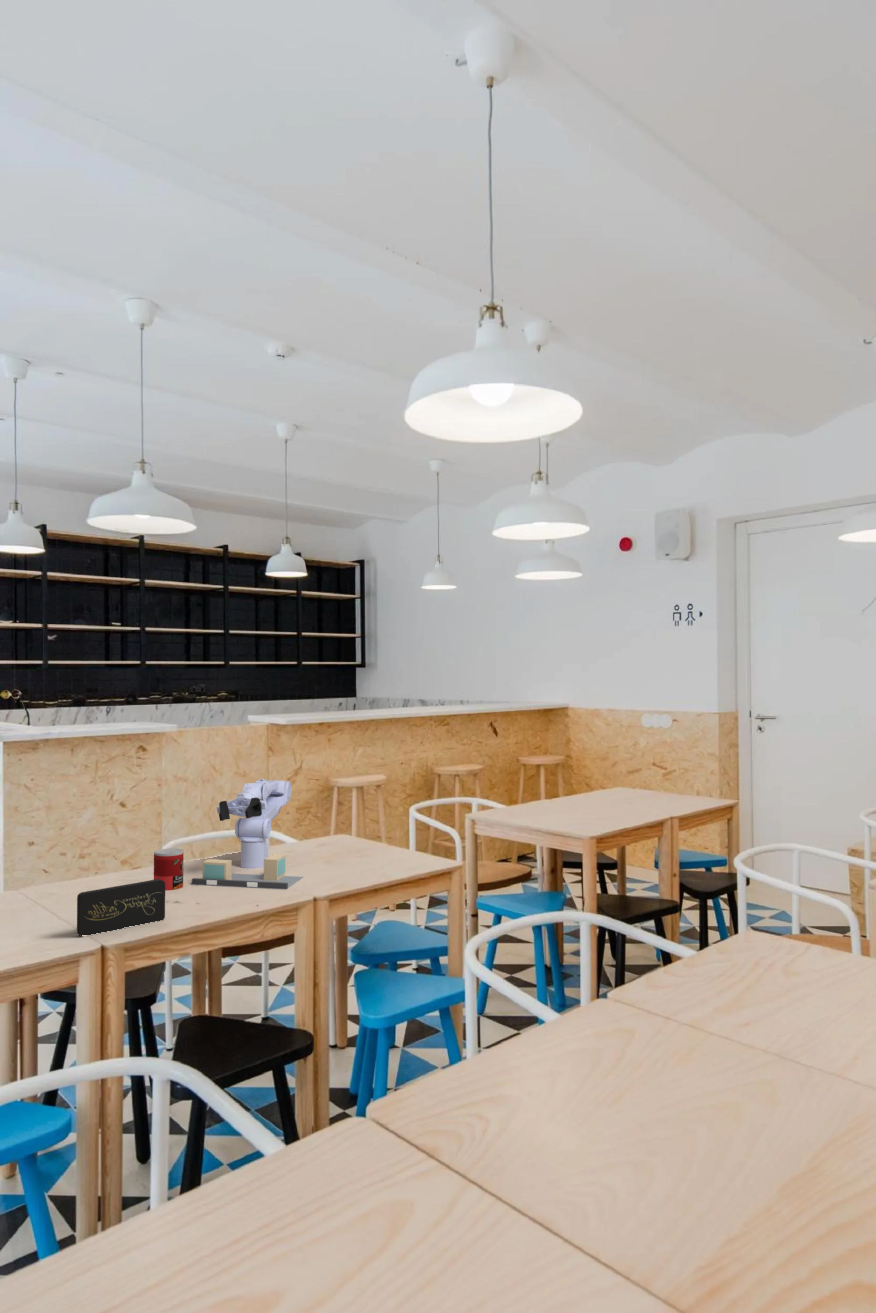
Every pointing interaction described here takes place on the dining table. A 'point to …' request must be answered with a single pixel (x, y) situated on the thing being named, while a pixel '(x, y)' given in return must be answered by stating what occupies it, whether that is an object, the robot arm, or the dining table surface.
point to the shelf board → (249, 882)
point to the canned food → (169, 867)
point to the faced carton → (217, 869)
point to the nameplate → (120, 907)
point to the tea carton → (274, 867)
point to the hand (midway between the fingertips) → (233, 816)
